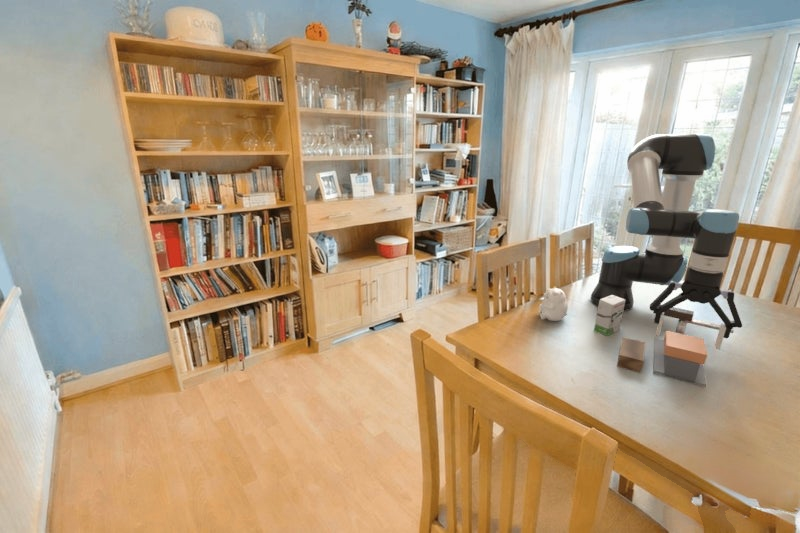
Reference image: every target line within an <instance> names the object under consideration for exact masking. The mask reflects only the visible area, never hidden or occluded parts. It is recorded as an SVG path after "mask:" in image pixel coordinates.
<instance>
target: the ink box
mask: <svg viewBox="0 0 800 533" xmlns="http://www.w3.org/2000/svg"><path fill="white" fill-rule="evenodd" d="M624 305H625V299H623V298H620V297H617V296H615V295H610V296H607V297H605V298H602V299H600V300H599V306H597V312H596V316H595V317H596V318H595V324H594V329H593V331H594V332H596V333H599V334H602V335H604V336H610V335H611V334H614V333H616V332H617V331H619V330H620V329H621V325H622V321H623V320H622V319H623V315H624V311H625V310H624ZM623 310H624V311H623Z"/></svg>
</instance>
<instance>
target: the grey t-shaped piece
mask: <svg viewBox="0 0 800 533" xmlns="http://www.w3.org/2000/svg"><path fill="white" fill-rule="evenodd" d="M661 305H662V303H661V304H660V305H659V306H661ZM659 306H658V307H659ZM652 312H653V314H656V312H654V311H652ZM664 317H669V318H672V319H673V318H674V319H678V321H677V325H676V329H675V331H674V332H675V333H680V334H684V335H685V333H686V332H685V331H686V328H687V324H691V325H696V326H700V327H704V328H709V329H713V330H717V331H719V329H720V326H721V324H716V323H710V322H707V321H703V320H699V319H695V318H694V310H693V311H692V310H689V309H683V308H679V307H675V306H674V307H672V308H670V309H668V310H667V311H665V312H664ZM734 328H735V327H733V329H731V332H730V334H733V333H734V331H735V330H734Z"/></svg>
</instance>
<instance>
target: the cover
mask: <svg viewBox="0 0 800 533" xmlns="http://www.w3.org/2000/svg"><path fill="white" fill-rule="evenodd" d="M675 332H676V331H674V332H673V331H670V330H665V333H664V337H663V340H664V355H667V356H671V357H675V358H680V359H684V360H688V361H692V362H696V363H700V364H703V365H705V363H706V360H707V357H708V353H707V352H708V351H707V347H706V342H705V338H702V337H696V336H692V335H687V334H685V333H684V334H680V333H675Z"/></svg>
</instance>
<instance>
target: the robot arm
mask: <svg viewBox="0 0 800 533" xmlns="http://www.w3.org/2000/svg"><path fill="white" fill-rule="evenodd" d="M715 145H716V144H715V140H714V138H713V136H712V135H710V134H707V133H706V134H703V133H667V134H664V133H662V134H661V133H660V134H659V133H658V134H653V135H651V136H648V137H646V138H644V139H642V140H641V141H639V142H637V144H636V145H635V146H634V147H633V148H632V149H631V150H630V152H629V154H628V156H627V161H626V162H627V164H626V165H627V169H628V172H630V173H631V184H632V185H631V187H632V199H633V208H630V209H629V210H628V213H627V215H626V219H625V220H626V221H625V230H626V232H627V233H630V234H635V235H639V236H640V235H641V236H653V237H652V241H651V243H650V244H649V245H647V246H646V248H645V251H640V249H639V247H635V246H631V245H615V246H611V247H607V248H606V249H605V250H604V253H603V255H602V258H601V268H600V270H599V271H600V273H599V277H598V283H597V284H596V286H595V287H594V289H593V291H592V293H591V295H590V302H592V304H594V305H596V306H597V307H598V306H599V300H600V299H602V298H605V297H607V296H610V295H615V296H617V297H620V298H623V299H625V305H624V310H623V312H624V311H629V310H631V309H633V307H634V302H635V301H634V296H633V295H634V294H633V290H632V289H633V288H632V286H633V283H634V282H636V283H642V284H643V283H644V284H653V285H659V286H667V287H666V288H665V289H664V290H663V291H662V292H661V293H660V294H659V295H658V296H657V297H656V298H655V299H654V300H652V302H651V303H650V304H649V310H650V311H652V312H653V311H654V312H656V314H655V313H654V314H655V315H654V319H653V320H654V321H653V322H654V324H657V327H656V331H655V335H656V337H657V336H658V337H659V336H660V335H661V330H662V325H663V323H664V318H665V316H664V312H665V311H667V310H668V309H670V308H672V307H675V306H678V305H679V304H680V303H683V302H685V301H687V300H688V301H689V302H691V303H700V304H703V305H704V304H709V305H710V306H711V308H713V310H714V312H715V313H716V314H717V315H718V317H719V318H720V320H721V321H722V322H723V323H720V325H721V326H720V329H719V330H718V334H717V337H716V340H715V343H714V346H715V349H716V350H721V346H722V344H723V340H724V339H728V338H730V335H731V333H730V332H731V329H733V328H742V327H743V324H742V320H741V317H740V315H739V312H738V310H737V307H736V304H735V301H734V300H735V291H733V289H727V290H726V289H725V290H724V289H720V288H721V283H722V281H723V278H724V271H725V270H726V267H727V263H728V259H729V256H730V252H731V250H732V246H733V242H734V239H735V237H736V232H737V230H738V229H739V220H740V215H739V213H738V212H736V211H733V210H728V209H715V208H710V209H708V208H707V209H705V210H704V209H695V210H692V211H691V210H690V206H691V201H692V197H693V194H694V190H695V184H696V181H697V180H699V179H700V178H701V177H702V176H703V175H704V171H708V170H710V169H712V166H713V163H714V161H715V157H716V156H715V155H716V146H715ZM659 170H662V172H661V175H662V176H663V177H664V179H665V180H664V181H665V182H664V185H663V191H662V188H661V179H660V173H659ZM682 239H694V242H693V247H692V250H691V254H690V258H689V262H688V258H687V257H686V256H685V255H684V250H682V248H681V247H680V246H681V244H682V243H681V242H682ZM687 265H688V266H687ZM684 276H685V278H684ZM683 278H684V281H683V283H681V281H682V280H683ZM678 289H681V293H679V294H678V295H676V296H675V297H673V298H671V299H670V300H668V301H666V302H665V300H666V299H667V298H668V297H669V296H670V295H671V294H673V292H674V291H677V290H678ZM720 295H721V296H722V297H723V299H724V300H726V302H727V305H728V307H729V310H730V313H731V316H732V318H733V320H730V318H729V317H728V316H727V314H726V313H725V311H724V310H723V309H722V307H721V306H720V305H719V304H718V302H717V300H716V298H718V297H719V296H720ZM663 302H664V303H663ZM662 303H663V304H662ZM660 304H661V306H659V305H660ZM658 306H659V307H658Z"/></svg>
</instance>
